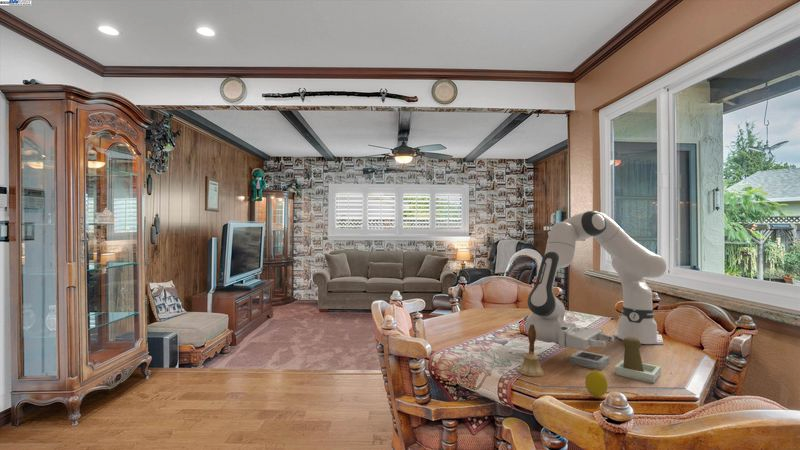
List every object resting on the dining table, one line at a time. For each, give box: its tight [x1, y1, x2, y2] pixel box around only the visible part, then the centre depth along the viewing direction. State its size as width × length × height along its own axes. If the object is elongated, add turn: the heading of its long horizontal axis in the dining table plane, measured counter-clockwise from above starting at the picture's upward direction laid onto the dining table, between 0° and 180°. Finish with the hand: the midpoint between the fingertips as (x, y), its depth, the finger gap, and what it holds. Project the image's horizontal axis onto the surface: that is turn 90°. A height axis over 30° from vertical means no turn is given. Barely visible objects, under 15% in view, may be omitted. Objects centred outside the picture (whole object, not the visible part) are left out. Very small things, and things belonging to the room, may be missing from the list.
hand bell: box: [517, 324, 545, 378], centre depth 128 cm, size 8×8×16 cm
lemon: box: [585, 369, 608, 399], centre depth 108 cm, size 6×6×8 cm
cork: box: [622, 337, 644, 372], centre depth 127 cm, size 6×6×11 cm
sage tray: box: [614, 358, 662, 384], centre depth 127 cm, size 11×11×2 cm
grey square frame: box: [569, 349, 611, 371], centre depth 138 cm, size 10×10×2 cm
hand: (609, 341), depth 133 cm, fingers open, 8 cm apart
